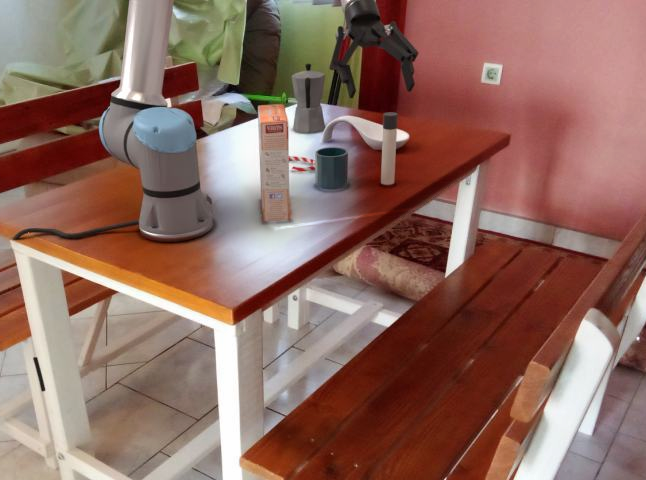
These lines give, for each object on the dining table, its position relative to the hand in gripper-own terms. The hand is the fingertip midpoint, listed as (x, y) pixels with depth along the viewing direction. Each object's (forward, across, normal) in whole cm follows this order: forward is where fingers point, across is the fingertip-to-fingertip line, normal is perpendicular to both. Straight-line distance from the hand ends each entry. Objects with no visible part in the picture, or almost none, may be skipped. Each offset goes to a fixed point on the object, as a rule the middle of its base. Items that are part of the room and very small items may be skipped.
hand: (382, 91), depth 157 cm
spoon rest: (-4, +6, +32) cm, 33 cm away
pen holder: (+14, -12, +14) cm, 23 cm away
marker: (+17, 0, +11) cm, 20 cm away
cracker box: (+22, -28, +7) cm, 36 cm away
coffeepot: (-19, -3, +47) cm, 51 cm away
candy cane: (+2, -16, +27) cm, 31 cm away
